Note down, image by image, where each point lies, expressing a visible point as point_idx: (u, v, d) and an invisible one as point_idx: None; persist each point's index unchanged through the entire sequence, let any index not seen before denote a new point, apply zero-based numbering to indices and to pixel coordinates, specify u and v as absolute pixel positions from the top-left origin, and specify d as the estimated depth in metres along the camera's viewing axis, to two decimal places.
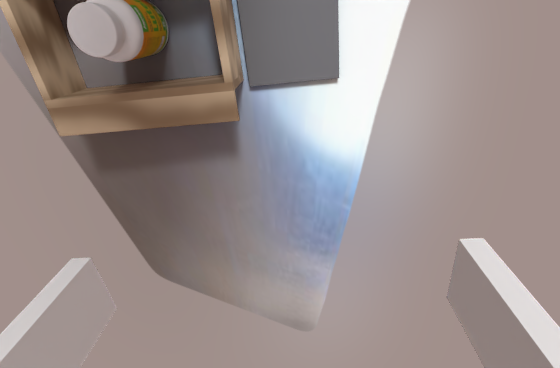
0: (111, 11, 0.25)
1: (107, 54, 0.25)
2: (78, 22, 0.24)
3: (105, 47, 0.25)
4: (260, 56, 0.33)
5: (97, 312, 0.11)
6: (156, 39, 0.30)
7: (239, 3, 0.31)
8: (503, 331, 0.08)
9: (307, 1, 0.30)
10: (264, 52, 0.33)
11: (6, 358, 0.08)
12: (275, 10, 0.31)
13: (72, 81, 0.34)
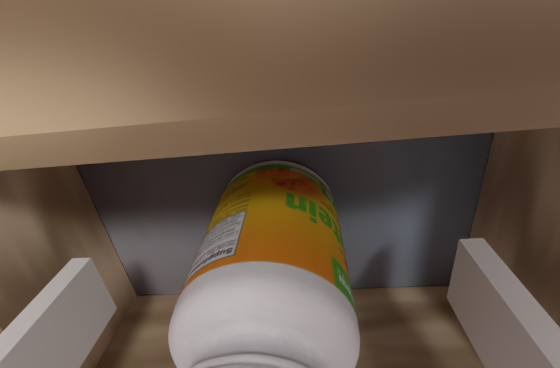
0: None
1: None
2: None
3: None
4: None
5: (97, 312, 0.11)
6: None
7: None
8: (503, 331, 0.08)
9: None
10: None
11: (6, 358, 0.08)
12: None
13: None
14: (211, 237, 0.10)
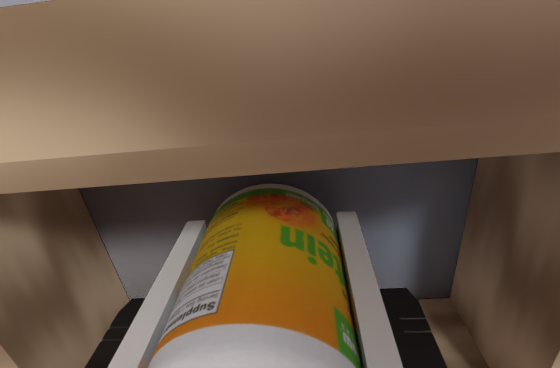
0: None
1: None
2: None
3: None
4: None
5: None
6: None
7: None
8: (346, 280, 0.10)
9: None
10: None
11: (172, 293, 0.09)
12: None
13: (109, 325, 0.16)
14: (193, 281, 0.08)
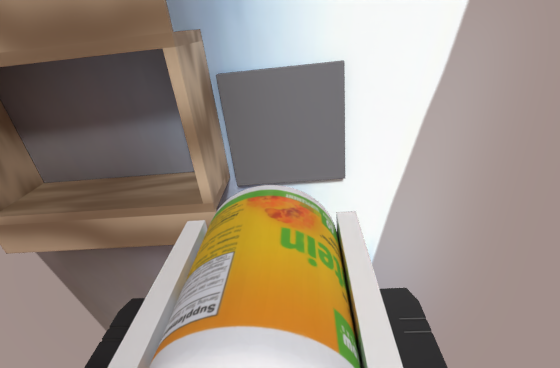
0: None
1: None
2: None
3: None
4: (250, 154, 0.27)
5: None
6: None
7: (222, 98, 0.25)
8: (346, 280, 0.10)
9: (307, 96, 0.25)
10: (254, 150, 0.27)
11: (172, 293, 0.09)
12: (266, 105, 0.25)
13: (23, 182, 0.28)
14: (193, 283, 0.08)
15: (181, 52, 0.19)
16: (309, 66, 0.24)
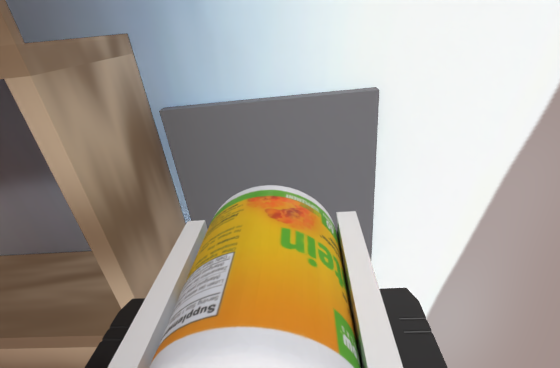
0: None
1: None
2: None
3: None
4: None
5: None
6: None
7: (173, 147, 0.15)
8: (346, 280, 0.10)
9: (313, 145, 0.15)
10: None
11: (172, 293, 0.09)
12: (246, 159, 0.15)
13: None
14: (193, 284, 0.08)
15: (59, 83, 0.09)
16: (318, 98, 0.14)
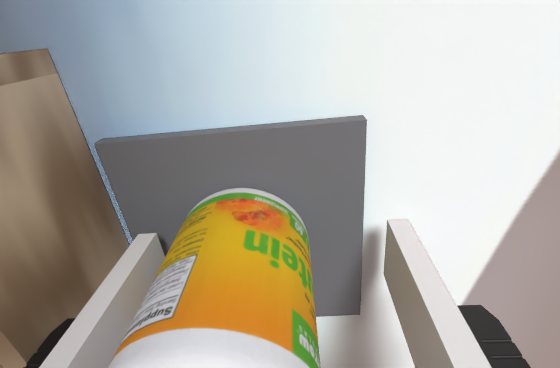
0: None
1: None
2: None
3: None
4: None
5: None
6: None
7: (115, 187, 0.12)
8: (410, 294, 0.09)
9: (288, 185, 0.12)
10: None
11: (104, 314, 0.09)
12: None
13: None
14: (155, 287, 0.08)
15: None
16: (291, 129, 0.11)
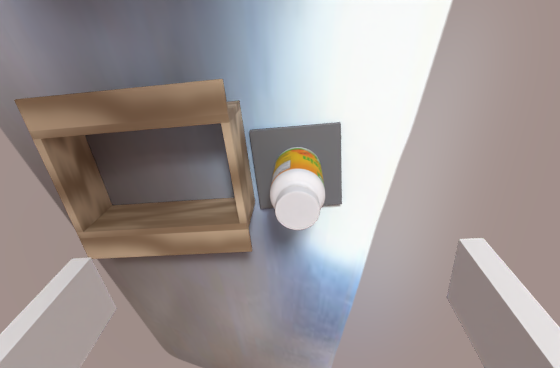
0: (314, 193, 0.27)
1: (305, 228, 0.28)
2: (287, 205, 0.27)
3: (305, 223, 0.27)
4: None
5: (97, 312, 0.11)
6: None
7: (253, 147, 0.35)
8: (503, 331, 0.08)
9: (314, 146, 0.34)
10: None
11: (6, 358, 0.08)
12: None
13: (100, 205, 0.38)
14: (279, 167, 0.31)
15: (232, 123, 0.29)
16: (316, 126, 0.33)
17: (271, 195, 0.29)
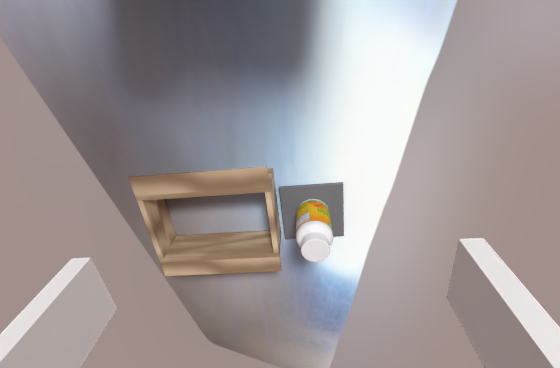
0: (326, 239, 0.42)
1: (320, 260, 0.43)
2: (309, 247, 0.42)
3: (320, 258, 0.42)
4: (293, 223, 0.52)
5: (97, 312, 0.11)
6: None
7: (281, 198, 0.49)
8: (503, 332, 0.08)
9: (324, 198, 0.49)
10: None
11: (6, 358, 0.08)
12: (303, 201, 0.50)
13: (170, 237, 0.53)
14: (302, 217, 0.45)
15: (271, 191, 0.44)
16: (326, 185, 0.48)
17: (297, 238, 0.44)
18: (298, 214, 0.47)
